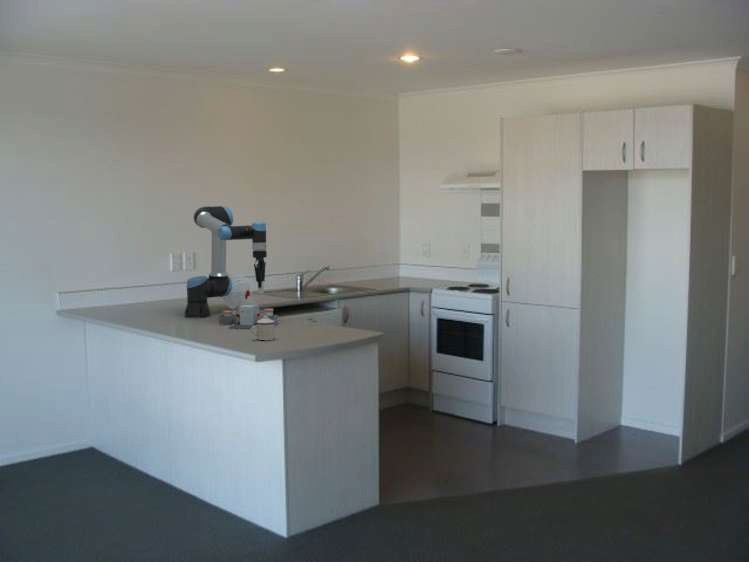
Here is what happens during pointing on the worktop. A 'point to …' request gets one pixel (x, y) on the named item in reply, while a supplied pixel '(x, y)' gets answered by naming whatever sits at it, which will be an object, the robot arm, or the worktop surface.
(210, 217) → the robot arm
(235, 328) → the mat
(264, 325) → the teacup with lid
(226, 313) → the plunger
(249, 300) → the white red kettle
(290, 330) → the worktop surface
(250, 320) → the small box
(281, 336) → the worktop surface
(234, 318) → the housing
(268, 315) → the plunger
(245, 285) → the heart
